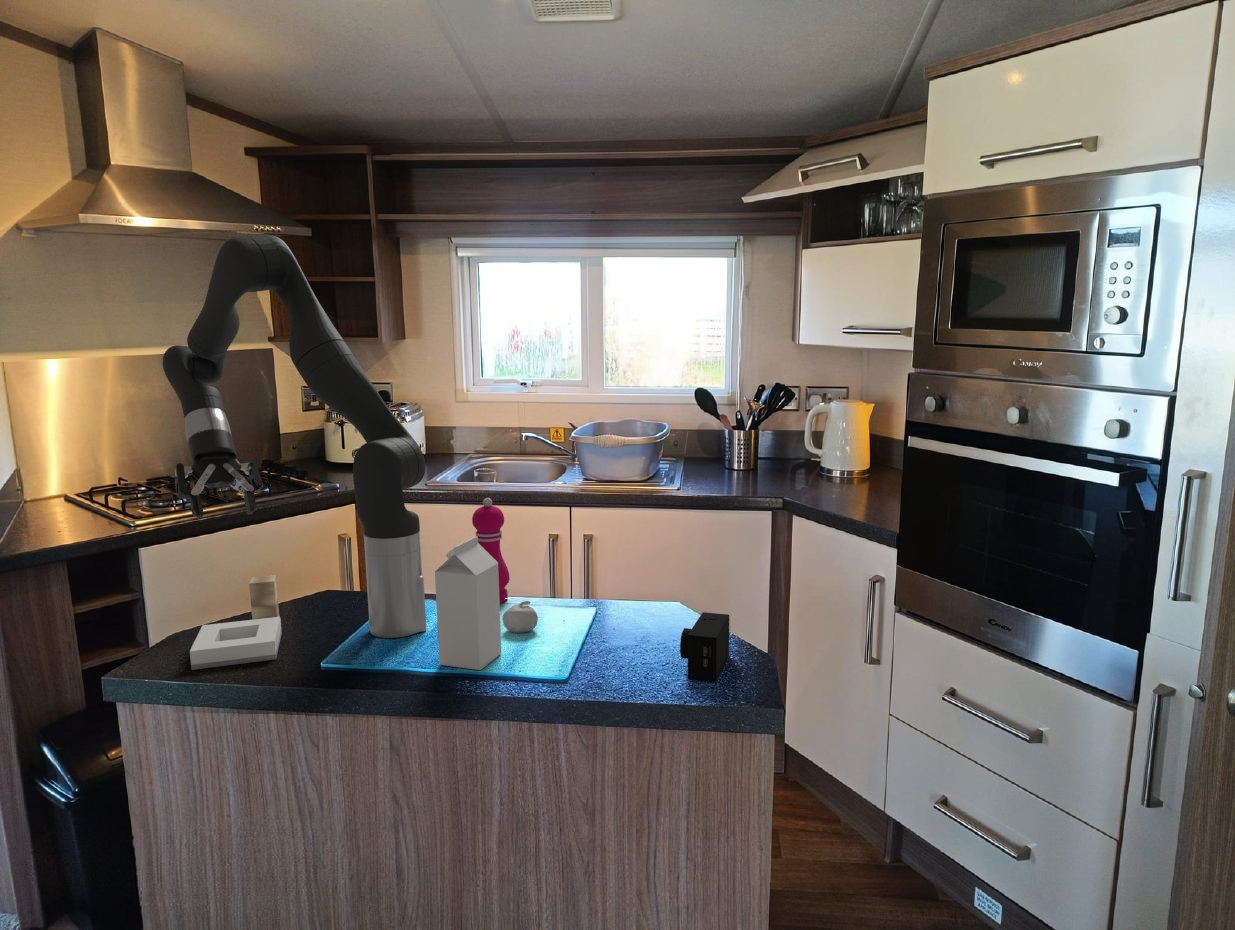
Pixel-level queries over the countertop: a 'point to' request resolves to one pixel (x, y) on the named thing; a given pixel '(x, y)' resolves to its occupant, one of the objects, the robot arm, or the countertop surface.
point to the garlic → (520, 618)
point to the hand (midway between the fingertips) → (226, 514)
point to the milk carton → (468, 607)
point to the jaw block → (264, 597)
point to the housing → (236, 643)
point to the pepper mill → (492, 539)
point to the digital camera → (706, 647)
